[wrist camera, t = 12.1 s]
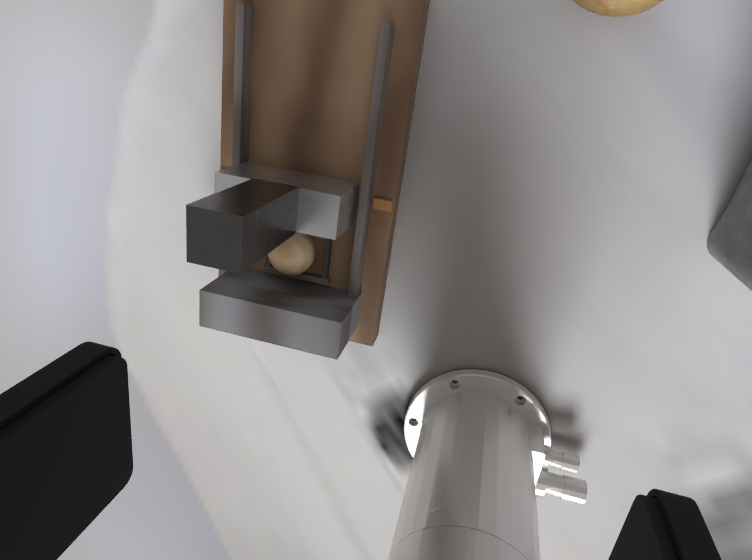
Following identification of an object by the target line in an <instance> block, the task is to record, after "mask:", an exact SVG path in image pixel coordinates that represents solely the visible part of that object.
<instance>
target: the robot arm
mask: <svg viewBox="0 0 752 560" xmlns="http://www.w3.org/2000/svg"><path fill="white" fill-rule="evenodd" d="M454 380H456V381H454ZM519 396H522V397H519ZM404 434H405V440H406V444H407V447H408V450H409V452H410V453H411V455H412V457H413V461H412V465H411V469H410V473H409V477H408V481H407V485H406V489H405V493H404V497H403V501H402V505H401V510H400V514H399V518H398V522H397V526H396V530H395V534H394V538H393V542H392V546H391V550H390V554H389V558H388V560H540V546H539V531H538V516H537V501H536V496H538V497H541V498H542V497H543V496H544V494H548V495H552V496H556V497H559V498H560V499H562V500H565V501H569V502H573V503H576V504H580V505H583V504H584V502H585V500H586V495H587V483H586V481H584V480H580V479H577V478H573V477H569V476H565V475H563V476H561V475H557V474H554V473H550V472H548V468H547V466H552V467H556V468H559V469H560V470H564V471H568V472H571V473H575V474H576V473H577V472H578V469H579V464H580V458H579V456H575V455H571V454H568V453H564V452H563V453H560V452H556V451H553V450H551V444H552V438H551V429H550V424H549V420H548V417H547V415H546V413H545V411H544V408H543V407H542V405H541V404H540V403H539V401H538V400H537V399H536V397H535V396H534V395H533V394H532V393H531V392H530V391H528V390H527V389H526V388H525V387H524V386H522V385H521V384H519V383H518V382H516V381H514V380H513V379H511V378H508V377H506V376H504V375H501V374H499V373H495V372H491V371H486V370H477V369H464V370H455V371H451V372H448V373H444V374H441V375H439V376H437V377H435V378H433V379H431V380H430V381H429V382H427V383H426V384H425V385H423V386H422V387H421V388H420V389H419V390H418V391H417V393H416V394H415V395H414V396H413V398H412V400H411V402H410V404H409V406H408V410H407V413H406V416H405V423H404ZM131 440H132V439H131V422H130V406H129V390H128V372H127V363H126V361H125V359H123V358H122V357H121V353H120V352H119V350H117V349H116V348H113V347H108V346H105V345H101V344H97V343H93V342H85V343H82V344H80V345H78V346H77V347H75V348H74V349H72V350H70V351H69V352H67V353H66V354H64V355H62V356H61V357H59V358H58V359H56V360H55V361H53V362H51V363H50V364H48V365H47V366H45V367H43V368H42V369H40V370H39V371H37V372H35V373H34V374H32V375H31V376H29V377H27V378H26V379H24V380H23V381H21V382H20V383H18V384H16V385H15V386H13V387H11V388H10V389H8V390H7V391H5V392H3V393H2V394H0V560H57V559H58V557H59V556H60V555H61V554H62V553H63V552H64V551H65V550H66V549H67V548H68V547H69V546H70V545H71V544H72V543H73V541H74V540H75V539H76V538H77V537H78V536H79V535H80V534H81V533H82V532H83V531H84V530H85V529H86V527H87V526H88V525H89V524H90V523H91V522H92V521H93V520H94V519H95V518H96V517H97V516H98V515H99V513H101V511H102V510H103V509H104V508H105V507H106V506H107V505H108V504H109V503H110V502H111V501H112V500H113V499H114V498H115V496H116V495H117V494H118V493H119V492H120V491H121V490H122V489H123V488H124V487H125V485H126V484H127V483H128V481H129V479H130V477H131V475H132V471H133V457H132V441H131ZM609 560H721V558H720V555H719V553H718V551H717V549H716V546H715V544H714V542H713V539H712V537H711V535H710V533H709V530H708V528H707V526H706V524H705V521H704V519H703V517H702V515H701V512H700V510H699V508H698V506H697V504H696V502H695V501H694V500H693V499H691V498H688V497H685V496H681V495H677V494H673V493H669V492H665V491H662V490H658V489H652V490H651V491H650V492H649V493H648V495H647V496H644V495H638V496H636V498H635V500H634V502H633V504H632V506H631V509H630V511H629V513H628V516H627V518H626V520H625V523H624V525H623V527H622V529H621V532H620V534H619V536H618V539H617V541H616V543H615V546H614V548H613V550H612V553H611V555H610V557H609Z"/></svg>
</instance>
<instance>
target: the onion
mask: <svg viewBox="0 0 752 560" xmlns="http://www.w3.org/2000/svg"><path fill="white" fill-rule="evenodd" d="M573 1H574V2H575V3H577V4H578V5H579V6H581V7H582V8H584V9H586V10H588V11H591V12H593V13H596V14H599V15H603V16H612V17H617V16H628V15H633V14H637V13H640V12H643V11H646V10H648V9H650V8H652V7H654V6H655V5H657V4H658V3H660V2H661V1H663V0H573Z"/></svg>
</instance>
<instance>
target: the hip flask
mask: <svg viewBox="0 0 752 560" xmlns="http://www.w3.org/2000/svg"><path fill="white" fill-rule="evenodd" d="M707 247H708V250H709V253H710V254H711V255H712V256H713V257H714V258H715V259H716V260H717V261H718V262H720V263H721V264H722V265H723V266H724V267H725V268H726V269H727V270H729V271H730V272H731V273H732V274H733V275H734V276H735V277H737V278H738V279H739V280H740V281H741V282H742V283H743V284H745V285H746V286H747V287H748V288H749V289H750V290H751V291H752V157H751V160H750V162H749V164H748V167H747V169H746V171H745V173H744V175H743V178H742V179H741V181H740V183H739V185H738V187H737V189H736V191H735V193H734V195H733V197H732V199H731V200H730V202H729V204H728V206H727V208H726V209H725V211H724V212H723V214H722V216H721V217H720V219H719V221H718V222H717V224H716V225H715V227H714V228H713V229H712V231H711V233H710V234H709V237H708V240H707Z"/></svg>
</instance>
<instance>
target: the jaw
mask: <svg viewBox="0 0 752 560" xmlns="http://www.w3.org/2000/svg"><path fill="white" fill-rule="evenodd" d="M358 186H359V183H357V182H351V181H346V180H340V179H335V178H330V177H324V176H319V175H314V174H308V173H303V172H298V171H292V170H287V169H282V168H276V167H271V166H266V165H260V164H255V163H250V162H244V163H241V164H238V165H235V166H232V167H229V168H226V169H223V170H220V171H217V172H215V194H212V195H210V196H207V197H205V198H202V199H200V200H197V201H195V202H192V203H190V204H187V205H186V225H187V262H190V263H194V264H199V265H203V266H208V267H212V268H217V269H221V270H226V271H230V272H235V273H239V274H242V273H243V272H244V271H246V270H247V269H248V268H250V267H251V266H252V265H254V264H255V263H256V262H258V261H259V260H260V259H262V258H263V257H265V256H266V255H267V254H269V253H270V252H271V251H273V250H274V249H275V248H277V247H278V246H279V245H281V244H282V243H283V242H285V241H286V240H288V239H289V238H290V237H292V236H293V235H294V234H296V232H299V233H303V234H308V235H313V236H318V237H323V238H328V239H332V240H336V239H337V238H338V237H339V236H340V235H342V234H343V233H344V232H345V231H346V230H347V229H348V228H349V227H350V226H351V225H352V224H353V223H354V219H355V210H356V202H357V194H358Z"/></svg>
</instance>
